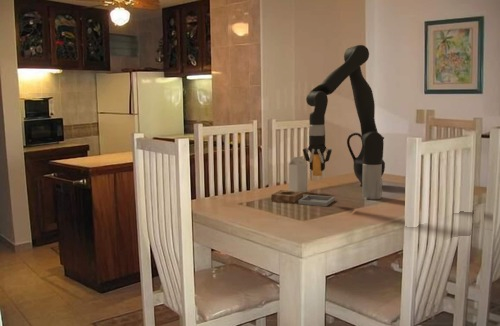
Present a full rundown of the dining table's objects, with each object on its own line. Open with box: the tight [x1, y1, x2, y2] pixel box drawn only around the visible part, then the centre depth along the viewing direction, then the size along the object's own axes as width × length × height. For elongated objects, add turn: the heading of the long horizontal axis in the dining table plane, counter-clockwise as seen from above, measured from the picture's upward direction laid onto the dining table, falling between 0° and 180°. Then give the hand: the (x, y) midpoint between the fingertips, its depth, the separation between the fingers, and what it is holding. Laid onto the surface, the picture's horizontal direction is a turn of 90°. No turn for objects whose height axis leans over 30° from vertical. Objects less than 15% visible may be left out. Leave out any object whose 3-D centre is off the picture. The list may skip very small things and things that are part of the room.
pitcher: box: [346, 132, 386, 188], centre depth 281 cm, size 17×21×30 cm
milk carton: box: [288, 155, 308, 193], centre depth 268 cm, size 7×7×19 cm
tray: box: [297, 194, 336, 207], centre depth 241 cm, size 14×14×2 cm
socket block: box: [270, 189, 304, 204], centre depth 247 cm, size 12×12×4 cm
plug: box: [312, 154, 323, 177], centre depth 238 cm, size 4×4×10 cm
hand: (317, 170), depth 238 cm, fingers closed on plug, 4 cm apart
